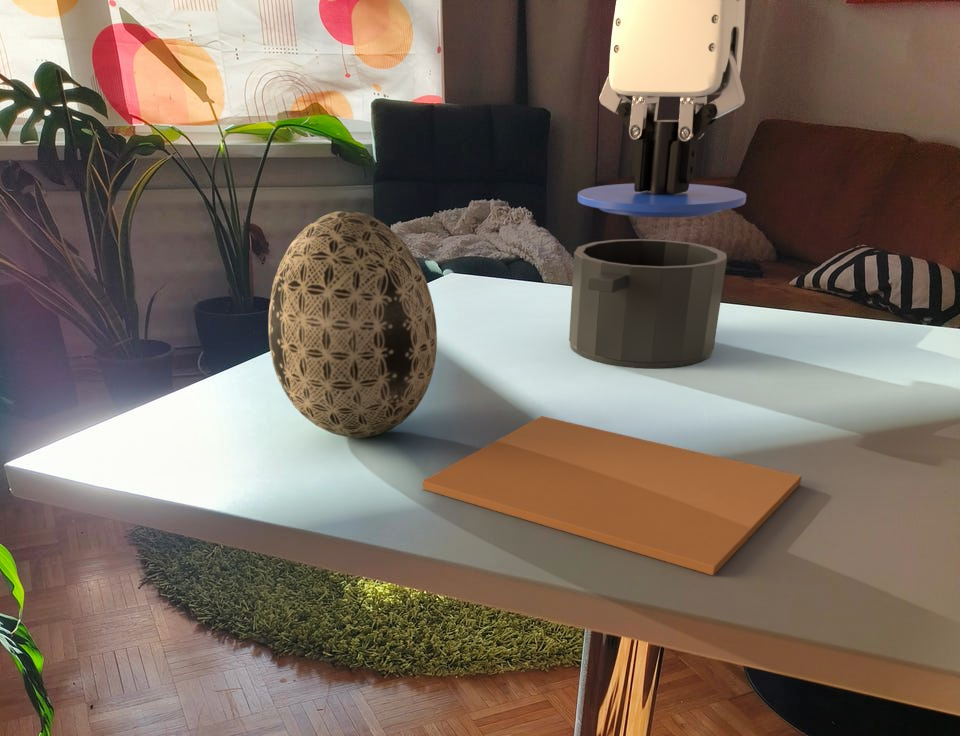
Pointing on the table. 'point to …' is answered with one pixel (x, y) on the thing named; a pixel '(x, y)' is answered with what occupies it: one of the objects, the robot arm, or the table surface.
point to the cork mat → (620, 491)
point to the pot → (646, 302)
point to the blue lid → (661, 188)
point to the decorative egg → (352, 326)
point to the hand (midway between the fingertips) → (661, 189)
